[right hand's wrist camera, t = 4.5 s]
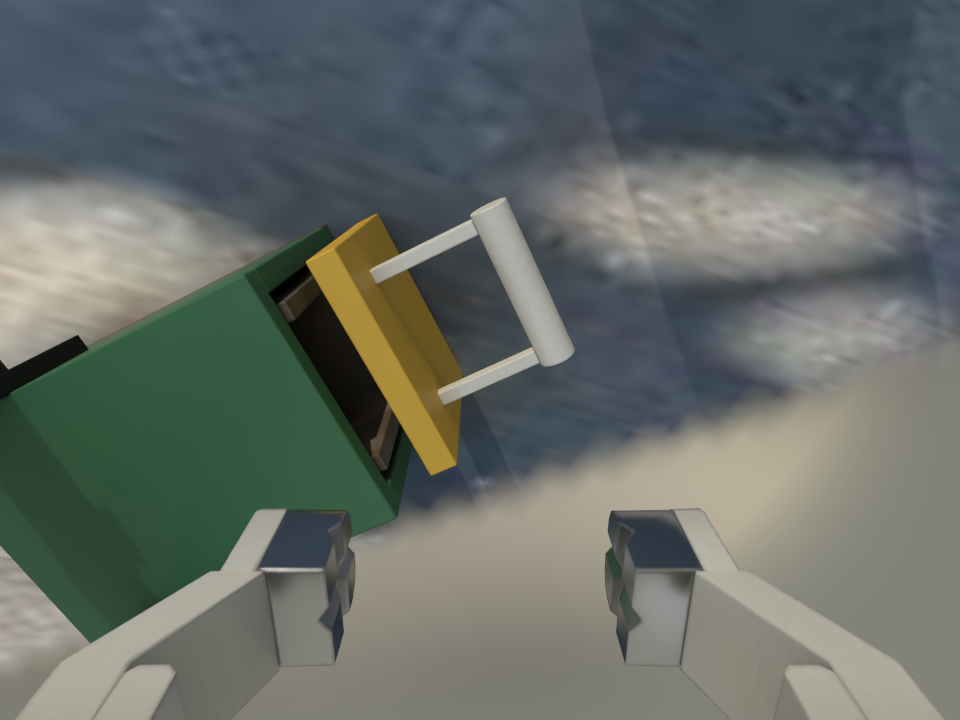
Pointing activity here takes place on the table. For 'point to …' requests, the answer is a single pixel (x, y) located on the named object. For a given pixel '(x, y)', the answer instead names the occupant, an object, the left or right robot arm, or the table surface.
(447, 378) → the drawer
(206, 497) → the cabinet
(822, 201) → the table surface
